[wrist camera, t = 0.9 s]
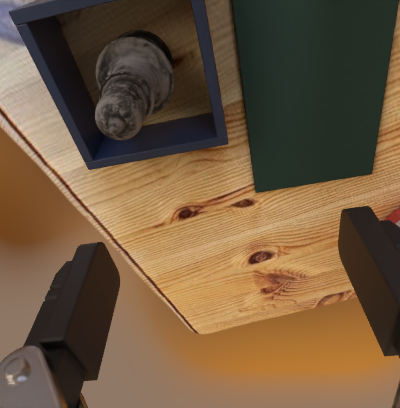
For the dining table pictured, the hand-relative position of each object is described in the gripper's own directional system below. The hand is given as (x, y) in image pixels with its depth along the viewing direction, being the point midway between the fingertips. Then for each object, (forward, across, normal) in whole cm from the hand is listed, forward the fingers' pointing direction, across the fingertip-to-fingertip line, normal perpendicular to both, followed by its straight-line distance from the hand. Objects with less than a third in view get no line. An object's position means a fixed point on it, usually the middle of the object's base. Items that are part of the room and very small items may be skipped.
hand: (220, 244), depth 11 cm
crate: (+21, +5, -1) cm, 21 cm away
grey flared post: (+21, +5, -1) cm, 22 cm away
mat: (+21, -9, +3) cm, 23 cm away
